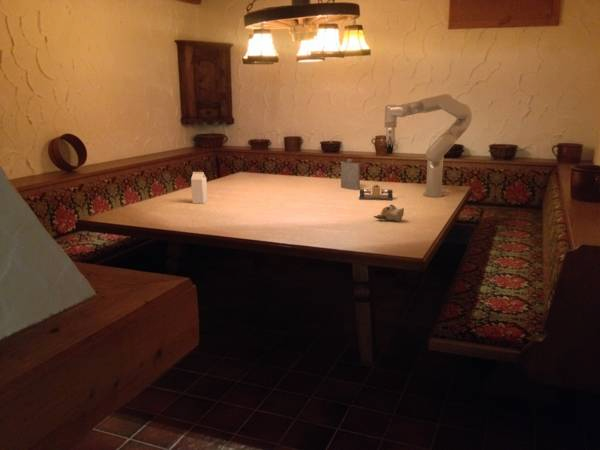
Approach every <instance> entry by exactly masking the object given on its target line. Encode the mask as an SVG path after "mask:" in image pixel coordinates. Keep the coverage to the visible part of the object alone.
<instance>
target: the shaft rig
mask: <svg viewBox="0 0 600 450" xmlns="http://www.w3.org/2000/svg"><path fill="white" fill-rule="evenodd" d="M393 198H394V197H393V189H383V188H380V197H372V188H369V189H365V188H360V190H359V197H358V200H360V201H393Z"/></svg>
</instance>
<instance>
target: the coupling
mask: <svg viewBox="0 0 600 450" xmlns="http://www.w3.org/2000/svg"><path fill="white" fill-rule="evenodd" d="M371 195H372V197H380V195H381V186H380V185H379V184H374V185H372V188H371Z"/></svg>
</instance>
